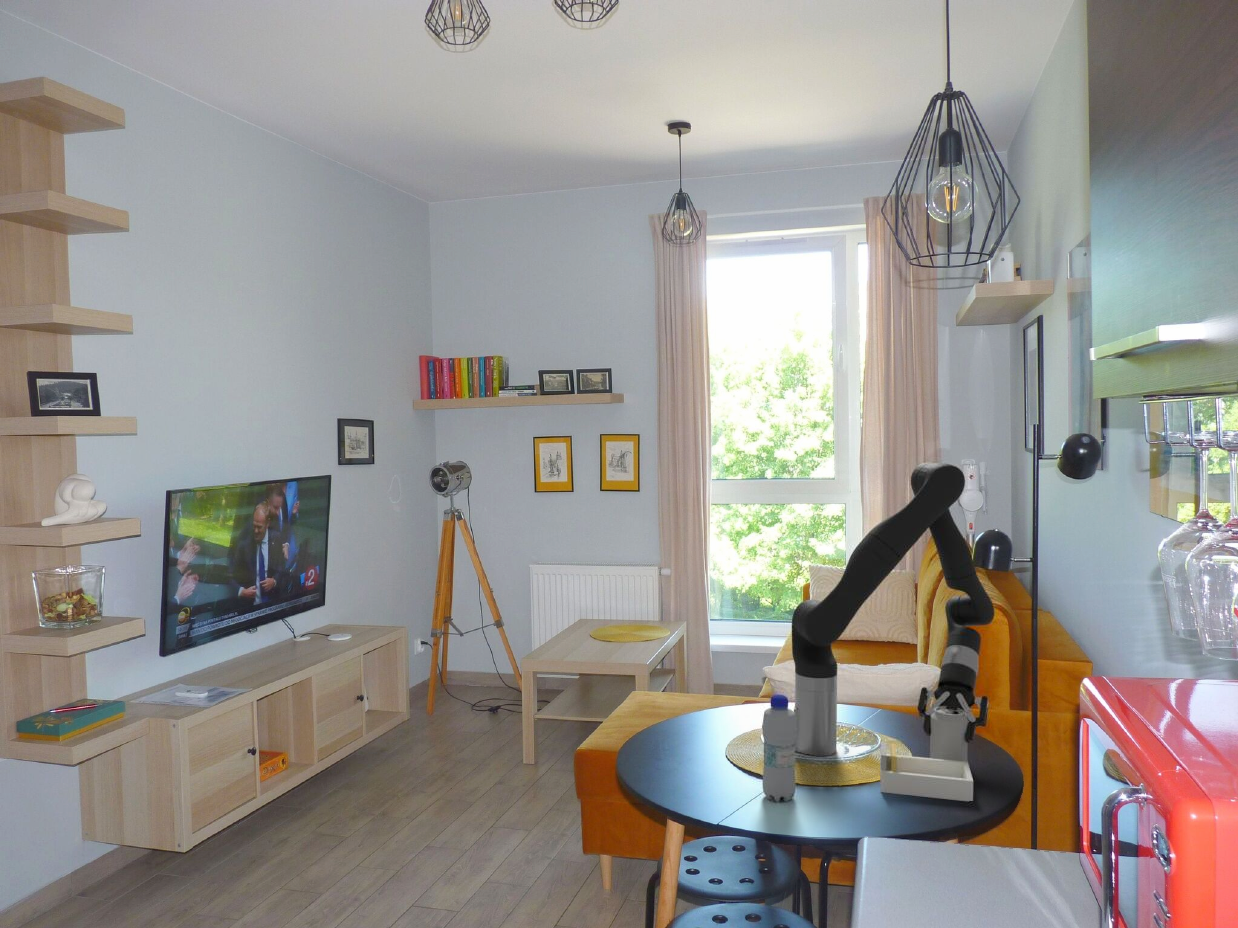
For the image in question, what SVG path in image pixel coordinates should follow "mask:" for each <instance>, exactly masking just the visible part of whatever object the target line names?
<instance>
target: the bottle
mask: <svg viewBox="0 0 1238 928" xmlns="http://www.w3.org/2000/svg"><path fill="white" fill-rule="evenodd" d="M761 729H762V731H761V732H762V733H761V734H762V736H763V771H762V792H763V794H764V795H765V797H766V798H767V800H770V801H771V800H772V799H773V798H774V801H775V802H777V803H778V802H780V799H781V798H783V801H784V802H789V800H792V799H793V798H794V796H795V794H796V789H797V788H796V786H797V785H796V769H795V766H796V765H795V763H796V762H795V759H796V757H795V756H796V751H795V738H796V736H797V734H796V732H797V725H796V717H795V713H794V710H792V709H790V708H789V699H788V697H787V696H786V695H784V694H774V695H772V696H771V697H770V707H769V708H766V709H765V710H764V712H763V718H762V725H761Z"/></svg>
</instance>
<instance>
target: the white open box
mask: <svg viewBox="0 0 1238 928" xmlns="http://www.w3.org/2000/svg"><path fill="white" fill-rule="evenodd" d="M880 793H887V794H893V795H894V794H895V795H905V796H914V797H924V798H931V799H932V798H933V799H943V800H949V801H950V800H952V801H962V802H969V801H973V802H974V779H973V775H972V772H971V769H970V765H969V761H967V762H964V761H954V760H943V759H933V758H930V757H922V756H910V755H899V754H897V772H894V771H891V753H887V741H886V740H881V741H880Z"/></svg>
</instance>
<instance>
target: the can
mask: <svg viewBox="0 0 1238 928" xmlns="http://www.w3.org/2000/svg"><path fill="white" fill-rule="evenodd" d="M945 707H946V706H939V707H936V708H934V712H933V713H932V714H931V733H930V736H929V737H930V741H929V742H930V746H929V747H930V749H929V758H933V759H943V760H954V761H964V762H968V750H969V749H968V746H969V745H968V742H966V732H967V726H968V718H967V717H966V716H965V715H964V714H965V711H964V710H962V709H960V708H957V709H958V710H954V709H946V708H945ZM954 711H956V712H958V714H956V713H955V712H954Z"/></svg>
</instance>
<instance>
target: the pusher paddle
mask: <svg viewBox="0 0 1238 928" xmlns="http://www.w3.org/2000/svg"><path fill="white" fill-rule="evenodd" d="M890 754H891V771H894V772H897V755H898V751H897V743H890Z"/></svg>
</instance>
